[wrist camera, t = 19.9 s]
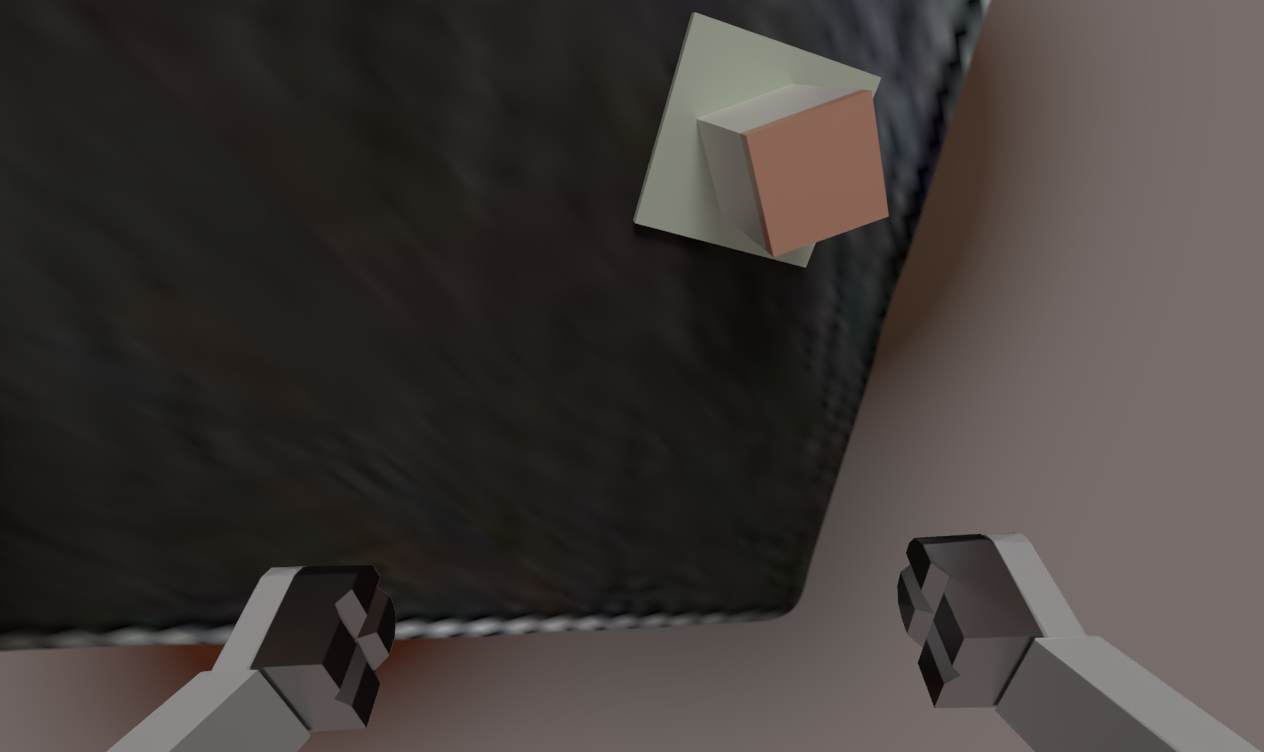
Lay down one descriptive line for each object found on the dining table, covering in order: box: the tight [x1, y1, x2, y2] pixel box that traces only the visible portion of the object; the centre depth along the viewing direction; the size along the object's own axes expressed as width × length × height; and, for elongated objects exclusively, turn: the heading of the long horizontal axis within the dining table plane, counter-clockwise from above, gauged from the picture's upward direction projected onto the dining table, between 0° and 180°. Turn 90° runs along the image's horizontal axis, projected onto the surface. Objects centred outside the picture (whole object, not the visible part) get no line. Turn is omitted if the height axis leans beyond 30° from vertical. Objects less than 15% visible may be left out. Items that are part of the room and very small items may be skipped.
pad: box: [633, 12, 881, 268], centre depth 40 cm, size 12×12×1 cm
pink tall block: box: [697, 84, 889, 257], centre depth 35 cm, size 6×6×10 cm
